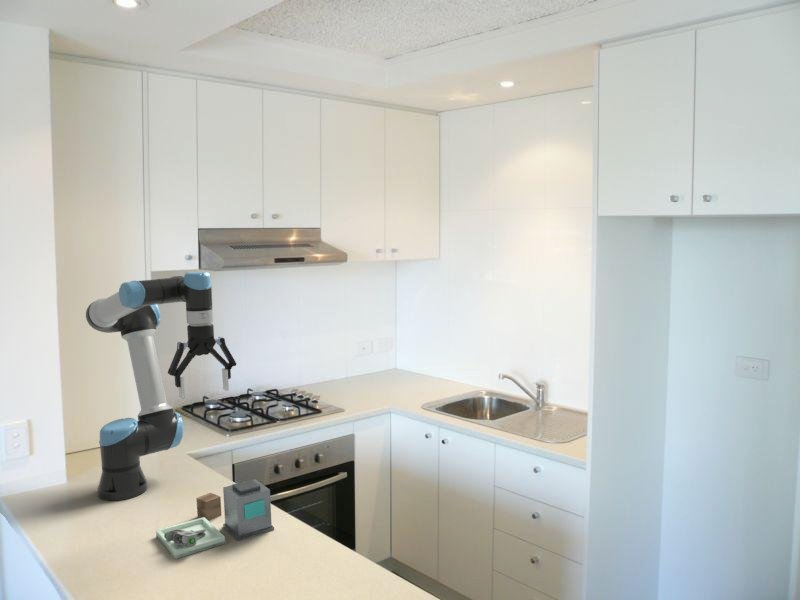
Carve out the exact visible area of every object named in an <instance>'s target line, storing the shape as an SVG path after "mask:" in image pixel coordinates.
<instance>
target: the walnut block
mask: <svg viewBox="0 0 800 600" xmlns="http://www.w3.org/2000/svg"><path fill="white" fill-rule="evenodd" d="M221 501H222V500H221V496H220V495H217V494H215V493H213V492H208V493H205V494H203V495H200V496H198V497H196V510H197V511H196V512H197V518H202V517H205V518H206V519H207V520H208V521H209V522H210V521H211V520H214V519H217V518H218V517H221V516H222V502H221Z"/></svg>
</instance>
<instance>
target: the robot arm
mask: <svg viewBox="0 0 800 600" xmlns="http://www.w3.org/2000/svg"><path fill="white" fill-rule="evenodd" d="M212 286H213V285H212V281H211V274H210V273H209V271H208V272H207V271H189V272H185V273H184V276H182V275H178V276H175V275H174V276H171V277H170V276H169V278H167V277H165V278H157V279H145V280H144V279H143V280H131V281H126V282H122V283H121V284H120V287H119V289H118V291H117V292H115V293H114V294H111V295H110V296H109V297H105V298H99V299H96V300H94V301H93V302H91V303H90V304H89V305H88V307H87V308H86V311H85V320H86V322H87V324H88V325H89V326H90V327H91V328H92V329H93V330H96V331H97V332H101V333H104V334H105V333H106V334H107V333H110V334H111V333H118V332H119V333H120V335H121V338H122V339H123V340H125V341H126V343H127V346H128V352H129V356H130V362H131V368H132V372H133V376H134V382H135V386H136V390H137V396H138V401H139V406H140V411H139V413H138V415H137V419H136V418H134V417H125V418H119V419H115V420H112V421H109V422H107V423H106V424H104V425H103V426H102V427H101V428H100V430H99V440H98V444H99V448H100V450H99V451H100V460H101V470H102V471H101V475H100V479H99V482H98V486H97V494H98V498H99V499H101V500H104V501H122V500H128V499H131V498H135V497H138V496H140V495H142V494H144V493H145V492H146V491H147V489H148V481H147V478H146V476H145V474H144V472H143V469H142V468H141V461H140V458H141V457H143V456H148V455H152V454H156V453H159V452H163V451H168V450H170V449H174V448H176V447H178V446H179V445H180V444H181V442H182V440H183V438H184V432H185V431H184V429H185V428H184V421H183V418H182V416H181V414H180V413H178V412H175V411H174V407H173V406H171V405H169V404H168V401H167V398H166V397H167V396H166V391H165V387H164V382H163V377H162V371H161V366H160V363H159V362H160V361H159V356H158V354H157V349H156V347H157V346H156V343H155V338H154V336H155V334H156V333H157V331H158V330H157V327H159V325H160V323H161V318H162V317H161V311H160V308H159V305H164V304H165V305H166V304H174V303H180V302H181V303H185V307H186V308H185V311H186V324H187V326H186V327H187V328H186V330H187V341H186V342H182V341H177V346H176V350H175V354H174V356H173V358H172V360H171V364H170V365H169V369H168V371H167V374H168V375H170V376H172V377H174V384H175V385H174V386H175V387H176V388H178V397H179V398H180V399H185V398H186V397H185V384H184V383H185V382H184V376H183V375H182V374H183V372H185V370H186V369H187V367H188V366H189V364H190V363H191V361H192V360H193V359H194V358H195V357H197V356H199V357H200V356H203V355H209V354H211V355H212V356H213V357H214V358H215V359H216V360H217V361H218V362H219V363H220V364H221V365H222V366H223V368H221V374H222V375H221V376H222V390H224V391H226V392H228V391H229V390H230V389H229V385H230V384H229V380H230V379H231V378H232V374H231V373H232V372H231V369H233V367H236V365H237V362H236V360H235V359H234V357H233V355H232V354H231V352H230V350H229V348H228V347H227V344H226V340H225V338H224V337H223V336H218V338H215V331H214V330H215V329H214V324H213V322H214V313H213V295H212V293H213V292H212ZM216 344H217V345H218V346H219V348H220V349H221V351H222V353H223V354H224V357H225V358H226V359H227V361H226V360H225V358H223V357H222V356H221V354H220V353H218V352H217V350H216V349H215V348H214V347H215V345H216ZM187 348H188V351H187V353H186V355H185V356H184V358H183V360H182V361H181V358H182V356H183V353H184V351H185V350H186V349H187ZM180 361H181V362H180ZM179 363H180V364H179Z"/></svg>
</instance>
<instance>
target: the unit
mask: <svg viewBox="0 0 800 600" xmlns="http://www.w3.org/2000/svg"><path fill="white" fill-rule="evenodd" d="M222 491H223V492H222V493H223V509H224V511H223V512H224V523H223V524H222V527H223V528H224V529H225V530H226V531H227V532H228V533H229V534H230V535H231V536H232V537H233V538H235V540H237V541H238V542H239V541H241V540H245V539H249V538H251V537H255V536H258V535H262V534H265V533H269V532H271V531H274V530H275V527H274V525H272V506H271V504H272V503H271V490H270V488H268V487H267V486H265V485H264V484H263V483H261V482H260V481H258V480H257V479H249V480H245V481H241V482H237V483H234V484H233V483H232V484H231V485H227V486H224V487H223V488H222Z"/></svg>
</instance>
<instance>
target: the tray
mask: <svg viewBox="0 0 800 600" xmlns="http://www.w3.org/2000/svg"><path fill="white" fill-rule="evenodd" d="M176 529H178V530H184V531H191V530H193V531H194V532H195V531H199V530H203V529H205V530H206V532H204V533H205V534H206V535H203V536H199V537H197V538H196V544H195V545H191V546H184V545H179V544H178V545H177V544H175V543H174V541H167V540H166V538H165V537H164V535H165V533H167V532H168V531H170V530H176ZM155 534H156V536H155V537H156V538H157V539H158V541H159V542H160V543H161V544H162V546H163V547H164V548H165V549H166V550H167V552H168V553H169V554H170V555H171V557H172V558H173V559H174V560H176V559H179V558H183V557H186V556H189V555H192V554H193V555H194V554H196V553H199V552H203V551H206V550H209V549H213V548H216V547H219V546H222V545H225V544H226V537H225V535H224V534H223V533H221V532H220V530H219V529H217V528H216V527H215V525H213V524H212V523H211V521H210V520H209V521H208V520H207V519H206V518H205V517H202V518H199V517H197V518H196V519H192V520H188V521H183V522H181V523H178V524H174V525H170V526H166V527H163V528H159V529H156V530H155ZM184 544H187V543H184Z"/></svg>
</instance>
